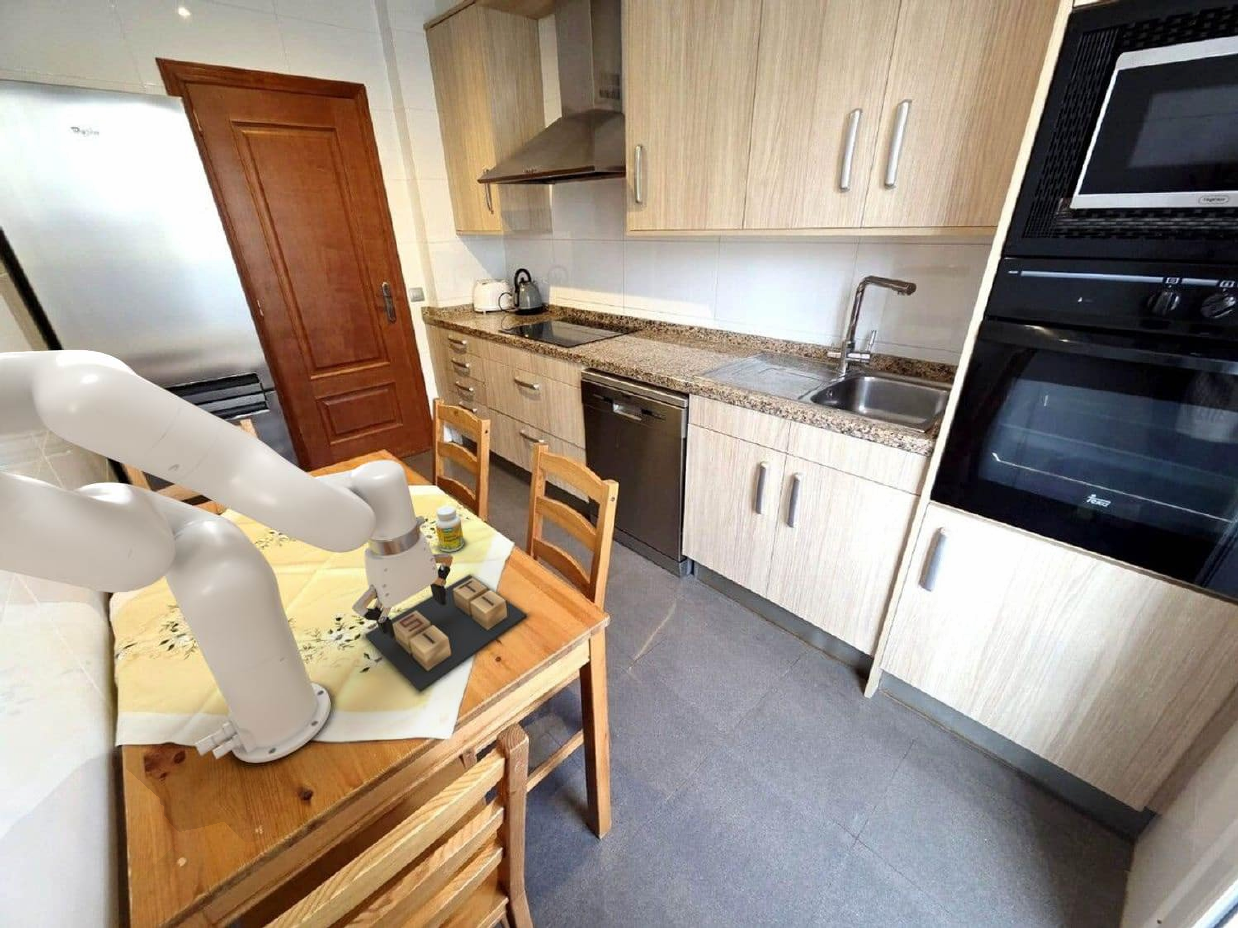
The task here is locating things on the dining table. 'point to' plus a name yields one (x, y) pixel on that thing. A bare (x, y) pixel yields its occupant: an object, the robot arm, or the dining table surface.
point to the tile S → (409, 629)
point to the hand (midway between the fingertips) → (415, 616)
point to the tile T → (468, 594)
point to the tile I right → (488, 609)
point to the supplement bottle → (449, 529)
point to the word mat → (452, 623)
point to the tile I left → (430, 647)
